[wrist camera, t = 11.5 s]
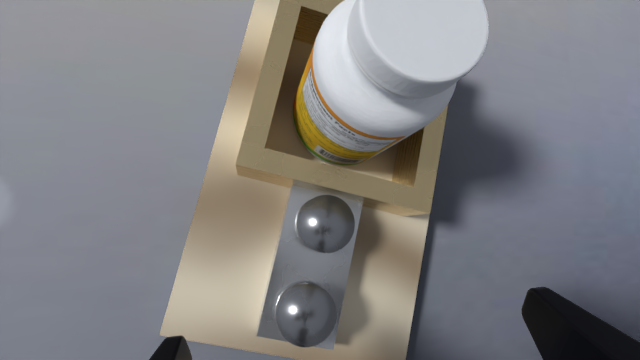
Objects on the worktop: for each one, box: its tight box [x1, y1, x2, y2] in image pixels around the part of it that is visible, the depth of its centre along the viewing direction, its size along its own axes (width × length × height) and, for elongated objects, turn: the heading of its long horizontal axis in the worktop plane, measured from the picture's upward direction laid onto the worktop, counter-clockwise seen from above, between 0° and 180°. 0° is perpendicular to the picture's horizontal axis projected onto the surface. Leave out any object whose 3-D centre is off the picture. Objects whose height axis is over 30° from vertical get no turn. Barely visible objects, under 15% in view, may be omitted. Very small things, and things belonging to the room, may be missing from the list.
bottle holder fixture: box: [236, 0, 448, 350], centre depth 18 cm, size 23×9×3 cm, turn 167°
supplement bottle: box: [292, 0, 489, 166], centre depth 15 cm, size 5×5×10 cm
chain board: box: [160, 0, 430, 360], centre depth 20 cm, size 25×12×1 cm, turn 167°
